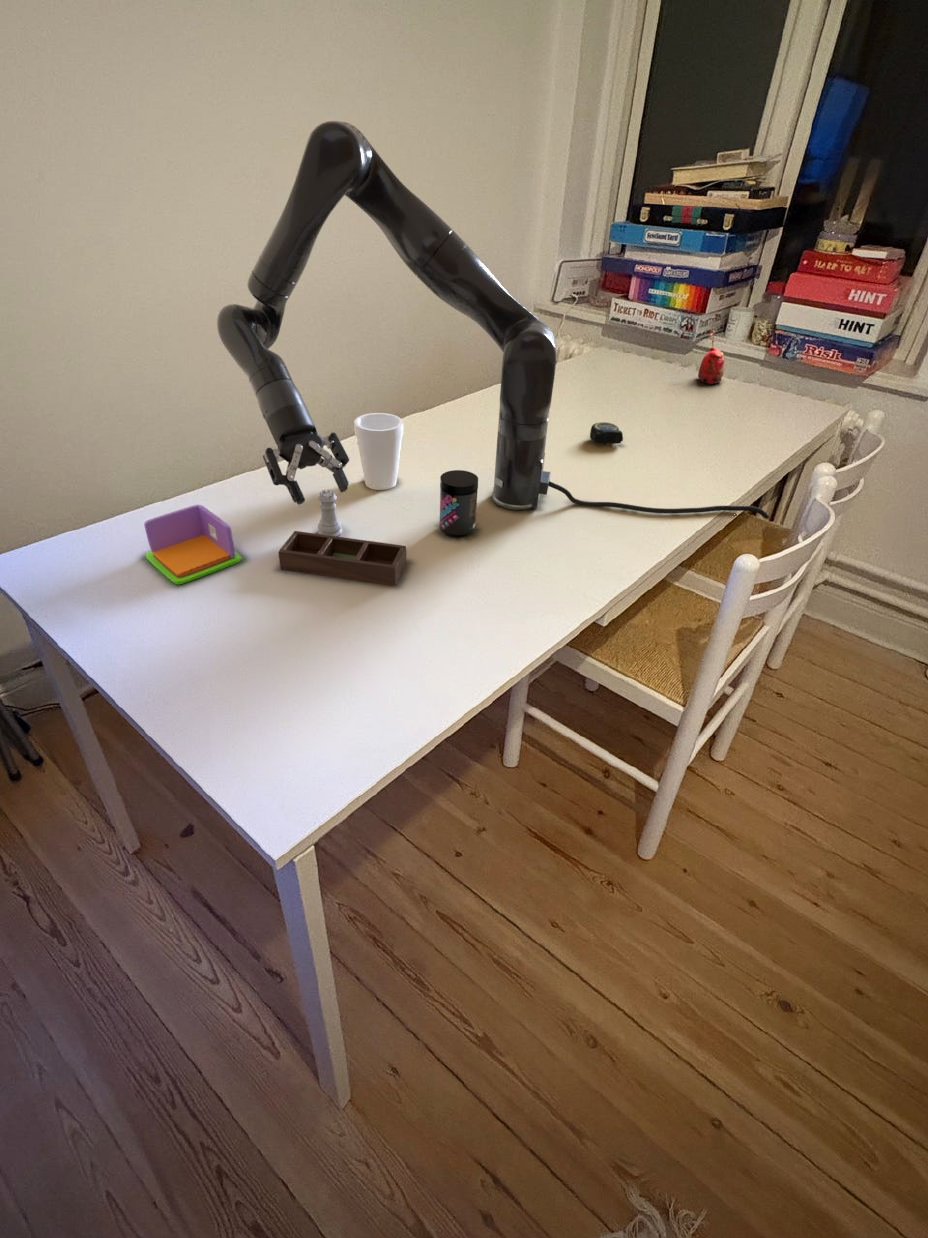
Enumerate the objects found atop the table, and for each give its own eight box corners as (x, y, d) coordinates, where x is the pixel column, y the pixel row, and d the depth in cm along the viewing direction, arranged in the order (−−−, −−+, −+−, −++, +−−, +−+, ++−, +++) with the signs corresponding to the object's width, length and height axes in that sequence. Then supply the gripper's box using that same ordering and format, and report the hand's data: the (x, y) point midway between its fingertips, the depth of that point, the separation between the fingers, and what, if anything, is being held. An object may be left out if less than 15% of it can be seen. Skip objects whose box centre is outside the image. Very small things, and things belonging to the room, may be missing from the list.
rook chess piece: (347, 529, 126) (344, 489, 121) (335, 541, 123) (332, 500, 118) (325, 525, 127) (321, 485, 123) (313, 536, 124) (309, 495, 119)
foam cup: (396, 496, 138) (394, 433, 130) (351, 490, 139) (347, 427, 131) (408, 476, 145) (408, 415, 137) (366, 470, 146) (363, 410, 139)
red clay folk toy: (716, 386, 202) (730, 332, 193) (692, 381, 205) (705, 328, 196) (723, 380, 207) (737, 327, 198) (700, 375, 210) (713, 323, 201)
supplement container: (440, 519, 131) (442, 468, 124) (476, 522, 130) (479, 471, 124) (437, 537, 125) (438, 485, 119) (474, 540, 125) (477, 488, 119)
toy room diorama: (209, 533, 123) (202, 498, 119) (244, 560, 117) (238, 524, 112) (143, 556, 116) (133, 520, 112) (176, 586, 110) (167, 549, 105)
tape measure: (593, 447, 162) (596, 432, 159) (585, 436, 167) (588, 421, 165) (621, 447, 162) (624, 432, 160) (612, 435, 168) (615, 421, 166)
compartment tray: (296, 548, 120) (294, 530, 118) (406, 563, 118) (406, 545, 116) (280, 569, 115) (278, 551, 113) (395, 586, 112) (395, 567, 110)
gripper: (252, 410, 115) (292, 499, 115) (327, 395, 123) (365, 478, 122) (243, 431, 121) (281, 515, 121) (315, 415, 129) (351, 494, 129)
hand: (323, 496), depth 122 cm, fingers open, 8 cm apart
